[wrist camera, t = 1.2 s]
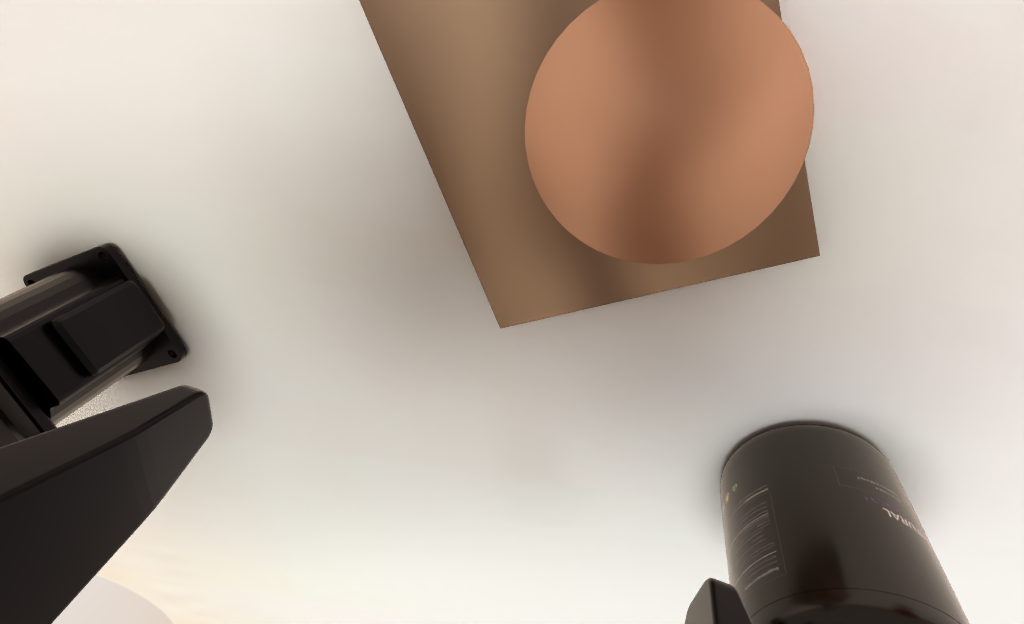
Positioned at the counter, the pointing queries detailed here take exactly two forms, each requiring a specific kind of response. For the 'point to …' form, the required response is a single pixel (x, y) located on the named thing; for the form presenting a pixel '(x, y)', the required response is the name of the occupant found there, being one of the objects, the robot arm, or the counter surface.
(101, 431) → the robot arm
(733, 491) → the supplement bottle
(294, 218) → the counter surface
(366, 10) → the card
